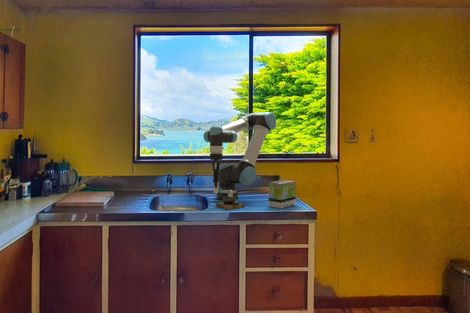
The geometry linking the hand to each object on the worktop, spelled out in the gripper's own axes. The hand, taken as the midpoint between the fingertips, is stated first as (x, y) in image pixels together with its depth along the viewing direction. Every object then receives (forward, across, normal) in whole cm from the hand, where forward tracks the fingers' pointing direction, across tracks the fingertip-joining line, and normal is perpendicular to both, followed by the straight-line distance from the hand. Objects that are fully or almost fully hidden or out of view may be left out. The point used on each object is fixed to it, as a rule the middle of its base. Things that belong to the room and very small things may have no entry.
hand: (216, 192), depth 207 cm
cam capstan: (+6, +1, -6) cm, 8 cm away
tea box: (+8, +4, -40) cm, 41 cm away
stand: (+8, 0, -9) cm, 12 cm away
